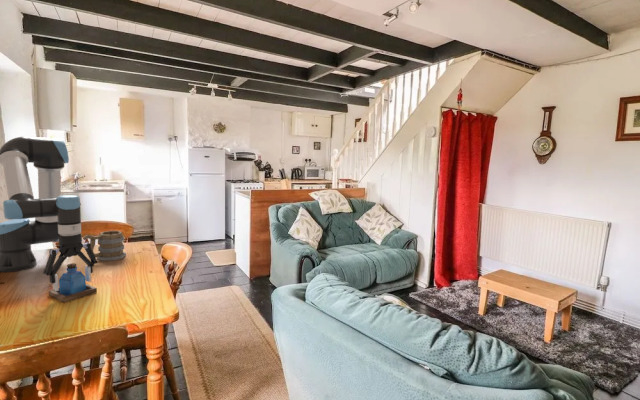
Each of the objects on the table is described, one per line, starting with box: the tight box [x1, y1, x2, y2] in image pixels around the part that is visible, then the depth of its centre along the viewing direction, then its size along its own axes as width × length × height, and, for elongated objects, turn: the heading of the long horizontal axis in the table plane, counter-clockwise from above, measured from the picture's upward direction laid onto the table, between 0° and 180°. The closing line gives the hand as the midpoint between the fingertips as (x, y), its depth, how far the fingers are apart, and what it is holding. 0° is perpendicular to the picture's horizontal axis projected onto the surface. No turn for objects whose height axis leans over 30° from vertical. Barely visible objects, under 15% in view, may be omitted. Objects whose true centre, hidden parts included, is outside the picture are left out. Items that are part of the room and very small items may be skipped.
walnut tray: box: [48, 283, 98, 304], centre depth 137 cm, size 12×12×2 cm
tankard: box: [82, 230, 127, 262], centre depth 180 cm, size 20×13×15 cm, turn 144°
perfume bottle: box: [58, 262, 87, 296], centre depth 136 cm, size 6×6×12 cm
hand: (72, 285), depth 137 cm, fingers open, 11 cm apart
